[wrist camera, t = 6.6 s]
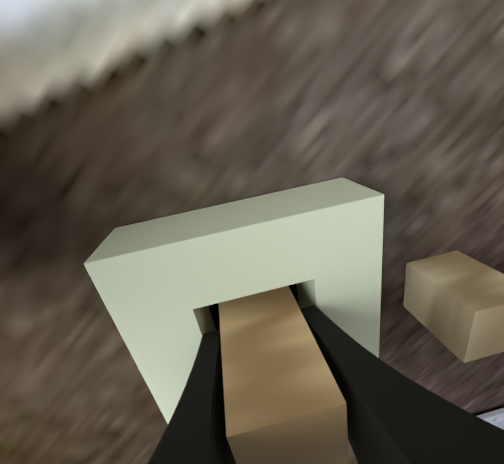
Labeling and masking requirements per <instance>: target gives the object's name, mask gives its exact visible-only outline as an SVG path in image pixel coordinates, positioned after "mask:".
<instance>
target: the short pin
mask: <svg viewBox="0 0 504 464" xmlns="http://www.w3.org/2000/svg"><path fill="white" fill-rule="evenodd" d="M403 306H404V307H405V308H406V309H407V310H408V311H409V312H410V313H411V314H412V315H413V316H414V317H415V318H416V319H417V320H418V321H420V322H421V323H422V324H423V325H424V326H425V327H426V328H427V329H428V330H429V331H430V332H431V333H432V334H433V335H434V336H435V337H436V338H438V339H439V340H440V341H441V342H442V343H443V344H444V345H445V346H446V347H447V348H448V349H449V350H450V351H451V352H452V353H453V354H454V355H456V356H457V357H458V358H459V359H460V360H461V361H462V362H463V363H466V362H469V361H473V360H476V359H480V358H483V357H487V356H490V355H494V354H497V353H501V352H504V274H502V273H500V272H498V271H496V270H494V269H493V268H491V267H489V266H487V265H485V264H483V263H481V262H479V261H477V260H475V259H473V258H471V257H469V256H467V255H465V254H463V253H462V252H460V251H458V250H456V251H452V252H449V253H445V254H441V255H437V256H433V257H429V258H425V259H421V260H417V261H413V262H409V263H406V276H405V289H404V302H403Z"/></svg>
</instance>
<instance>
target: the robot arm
mask: <svg viewBox="0 0 504 464" xmlns="http://www.w3.org/2000/svg"><path fill="white" fill-rule="evenodd" d="M300 310H301V312H302V314H303V316H304V318H305V320H306V322H307V324H308V326H309V328H310V330H311V332H312V335H313V337H314V339H315V341H316V343H317V345H318V347H319V349H320V351H321V353H322V355H323V357H324V359H325V361H326V363H327V365H328V367H329V369H330V371H331V373H332V375H333V377H334V379H335V381H336V383H337V385H338V387H339V389H340V391H341V393H342V395H343V397H344V399H345V401H346V407H347V431H348V440H349V442H350V444H351V447H352V449H353V452H354V454H355V456H356V459H357V461H358V464H504V408H501V409H497V410H494V411H491V412H487V413H484V414H481V415H477V416H475V415H473V414H471V413H469V412H467V411H465V410H463V409H461V408H460V407H458V406H456V405H454V404H452V403H450V402H449V401H447V400H445V399H443V398H441V397H440V396H438V395H436V394H434V393H432V392H430V391H429V390H427V389H425V388H424V387H422V386H420V385H419V384H417V383H415V382H414V381H412V380H411V379H409V378H407V377H406V376H404V375H403V374H401V373H400V372H398V371H397V370H395V369H394V368H392V367H391V366H389V365H388V364H386V363H385V362H383V361H382V360H381V359H379V358H378V357H376V356H375V355H374V354H372V353H371V352H370V351H368V350H367V349H366V348H364V347H363V346H362V345H360V344H359V343H358V342H357V341H355V340H354V339H353V338H352V337H351V336H349V335H348V334H347V333H346V332H344V331H343V330H342V329H341V328H340V327H339V326H337V325H336V324H335V323H334V322H333V321H332V320H331V319H330V318H329V317H327V316H326V315H325V314H324V313H323V312H322V311H321V310H320V309H319V308H318V307H317V306H315V305H313V306H309V307H305V308H301V309H300ZM147 464H236V461H235V459H234V456H233V453H232V451H231V448H230V445H229V443H228V440H227V438H226V422H225V405H224V388H223V371H222V354H221V336H220V331H219V330H216V331H212V332H208V333H204V334H203V336H202V338H201V342H200V346H199V349H198V352H197V355H196V358H195V361H194V364H193V367H192V369H191V372H190V375H189V377H188V380H187V383H186V385H185V388H184V390H183V392H182V395H181V397H180V399H179V402H178V404H177V406H176V408H175V411H174V413H173V415H172V417H171V419H170V422H169V424H168V426H167V428H166V430H165V432H164V434H163V436H162V438H161V440H160V441H159V443H158V445H157V447H156V449H155V451H154V453H153V455H152V456H151V458H150V460H149V462H148V463H147Z"/></svg>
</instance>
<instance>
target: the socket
mask: <svg viewBox="0 0 504 464" xmlns="http://www.w3.org/2000/svg"><path fill="white" fill-rule="evenodd" d="M383 216H384V194H382V193H379V192H377V191H374V190H372V189H370V188H367V187H365V186H362V185H360V184H357V183H355V182H352V181H350V180H348V179H345V178H343V177H342V178H337V179H333V180H328V181H324V182H319V183H315V184H310V185H306V186H301V187H297V188H292V189H288V190H283V191H279V192H274V193H270V194H265V195H261V196H256V197H252V198H247V199H243V200H238V201H234V202H229V203H225V204H220V205H216V206H211V207H207V208H202V209H198V210H193V211H189V212H184V213H180V214H175V215H171V216H166V217H162V218H157V219H153V220H148V221H144V222H139V223H135V224H130V225H126V226H121V227H117V228H114V230H113V231H112V232H111V233H110V234H109V235H108V236H107V238H106V239H105V240H104V241H103V242H102V243H101V244H100V245H99V247H98V248H97V249H96V250H95V251H94V252H93V253H92V255H91V256H90V257H89V258H88V259H87V260H86V261H85V263H84V266H85V268H86V270H87V272H88V274H89V275H90V277H91V279H92V281H93V283H94V285H95V287H96V289H97V291H98V292H99V294H100V296H101V298H102V300H103V302H104V304H105V306H106V308H107V310H108V311H109V313H110V315H111V317H112V319H113V321H114V323H115V325H116V327H117V328H118V330H119V332H120V334H121V336H122V338H123V340H124V342H125V344H126V346H127V347H128V349H129V351H130V353H131V355H132V357H133V359H134V361H135V363H136V364H137V366H138V368H139V370H140V372H141V374H142V376H143V378H144V380H145V382H146V383H147V385H148V387H149V389H150V391H151V393H152V395H153V397H154V399H155V400H156V402H157V404H158V406H159V408H160V410H161V412H162V414H163V416H164V418H165V419H166V421H167V423H168V424H169V422H170V419H171V417H172V415H173V413H174V411H175V408H176V406H177V404H178V402H179V399H180V397H181V395H182V392H183V390H184V388H185V385H186V383H187V380H188V377H189V375H190V372H191V369H192V367H193V364H194V361H195V358H196V355H197V352H198V349H199V346H200V342H201V338H202V336H203V334H204V333H208V332H212V331H216V328H215V325H214V322H213V319H212V315H211V312H210V309H209V306H208V305H212V304H216V303H220V302H224V301H228V300H232V299H236V298H240V297H244V296H248V295H252V294H256V293H260V292H264V291H268V290H272V289H276V288H280V287H284V286H288V285H292V284H296V287H297V294H298V302H299V308H300V309H301V308H305V307H309V306H313V305H315V306H317V307H318V308H319V309H320V310H321V311H322V312H323V313H324V314H325V315H326V316H327V317H329V318H330V319H331V320H332V321H333V322H334V323H335V324H336V325H337V326H339V327H340V328H341V329H342V330H343V331H344V332H346V333H347V334H348V335H349V336H351V337H352V338H353V339H354V340H355V341H357V342H358V343H359V344H360V345H362V346H363V347H364V348H366V349H367V350H368V351H370V352H371V353H372V354H374V355H375V356H376V357H378V358H379V338H380V308H381V277H382V247H383Z"/></svg>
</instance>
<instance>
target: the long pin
mask: <svg viewBox="0 0 504 464" xmlns="http://www.w3.org/2000/svg"><path fill="white" fill-rule="evenodd" d="M219 319H220V336H221V354H222V371H223V388H224V405H225V422H226V438H227V440H228V443H229V445H230V448H231V451H232V453H233V456H234V459H235V461H236V464H349V454H348V431H347V407H346V401H345V399H344V397H343V395H342V393H341V391H340V389H339V387H338V385H337V383H336V381H335V379H334V377H333V375H332V373H331V371H330V369H329V367H328V365H327V363H326V361H325V359H324V357H323V355H322V353H321V351H320V349H319V347H318V345H317V343H316V341H315V339H314V337H313V335H312V332H311V330H310V328H309V326H308V324H307V322H306V320H305V318H304V316H303V314H302V312H301V310H300V308H299V306H298V304H297V302H296V300H295V298H294V296H293V294H292V292H291V290H290V288H289V286H284V287H280V288H276V289H272V290H268V291H264V292H260V293H256V294H252V295H248V296H244V297H240V298H236V299H232V300H228V301H224V302H220V303H219Z"/></svg>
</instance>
